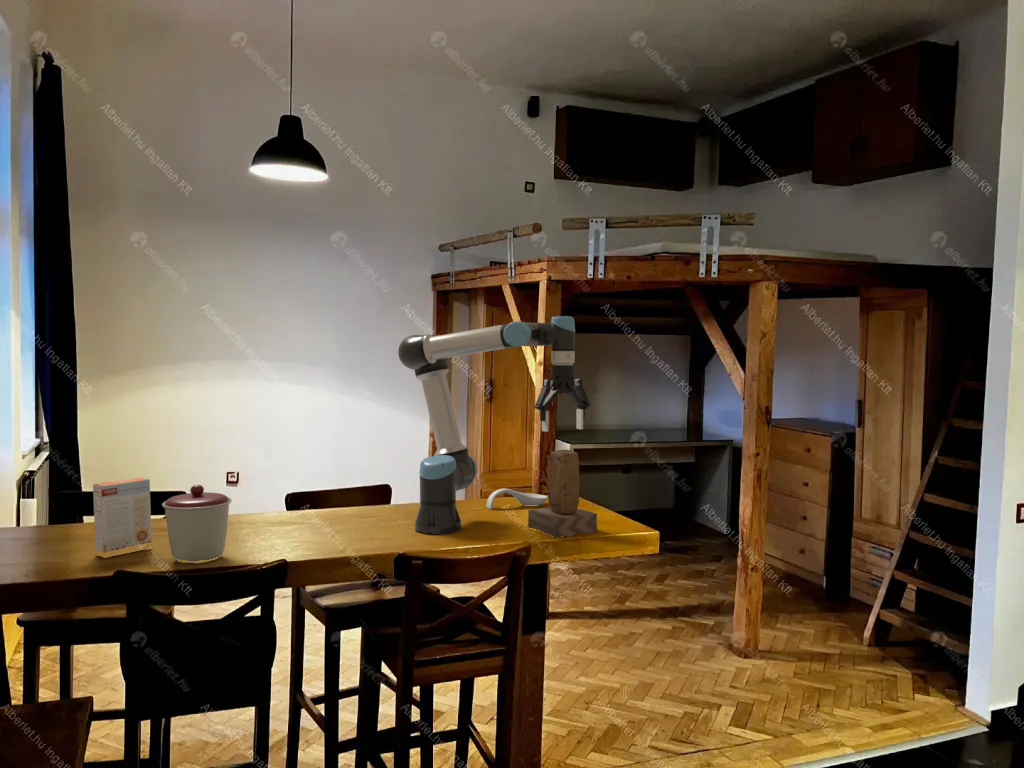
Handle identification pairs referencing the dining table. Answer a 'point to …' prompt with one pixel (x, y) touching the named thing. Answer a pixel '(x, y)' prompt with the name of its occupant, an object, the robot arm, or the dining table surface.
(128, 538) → the cracker box
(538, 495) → the spoon rest
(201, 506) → the canister
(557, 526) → the base block
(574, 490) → the block
